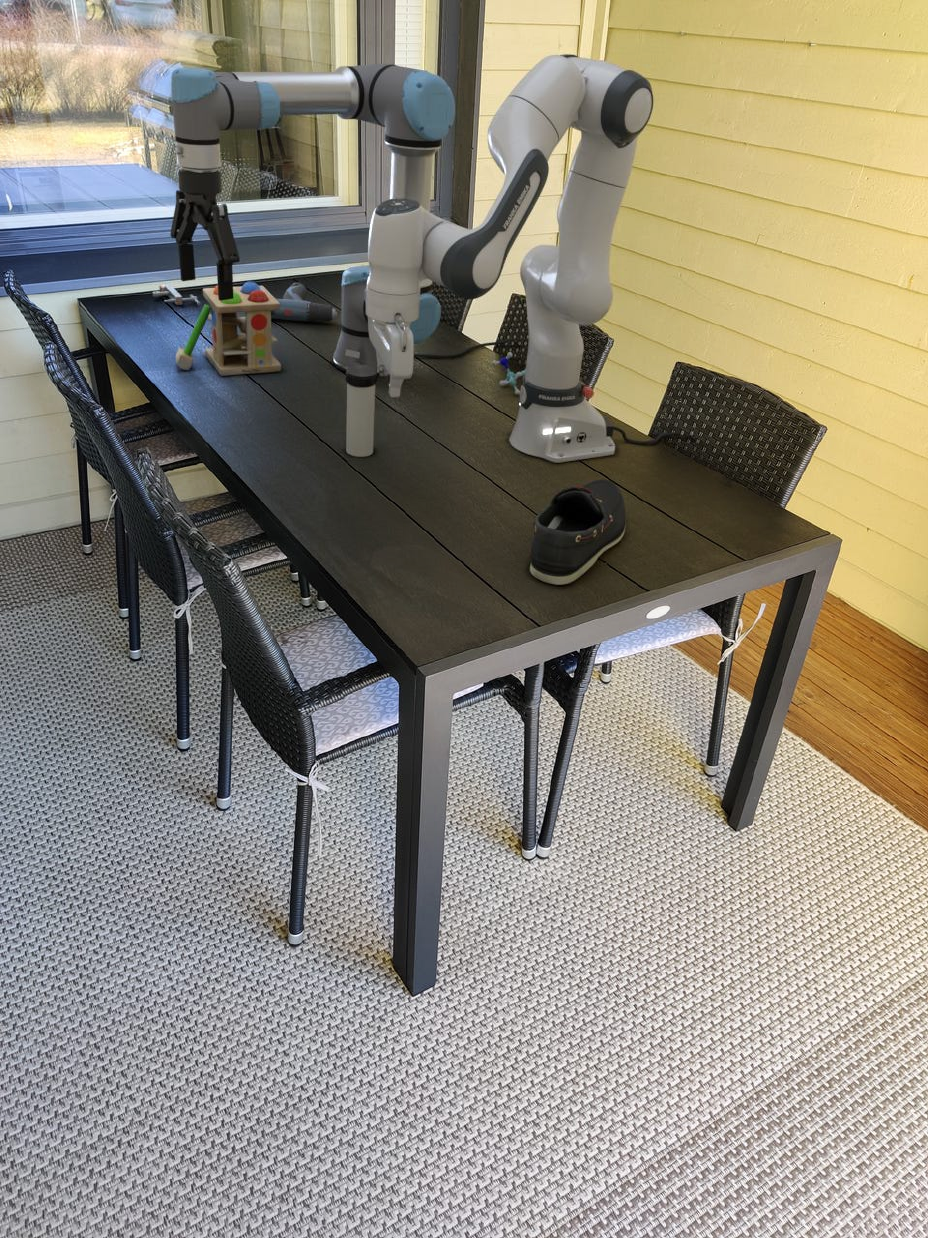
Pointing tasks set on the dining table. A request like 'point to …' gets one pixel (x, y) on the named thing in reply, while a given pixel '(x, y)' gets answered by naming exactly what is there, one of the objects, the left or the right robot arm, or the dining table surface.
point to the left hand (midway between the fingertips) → (206, 289)
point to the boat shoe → (576, 531)
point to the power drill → (301, 307)
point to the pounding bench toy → (229, 347)
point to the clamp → (173, 295)
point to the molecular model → (509, 373)
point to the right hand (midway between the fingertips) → (388, 385)
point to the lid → (361, 376)
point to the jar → (360, 420)
